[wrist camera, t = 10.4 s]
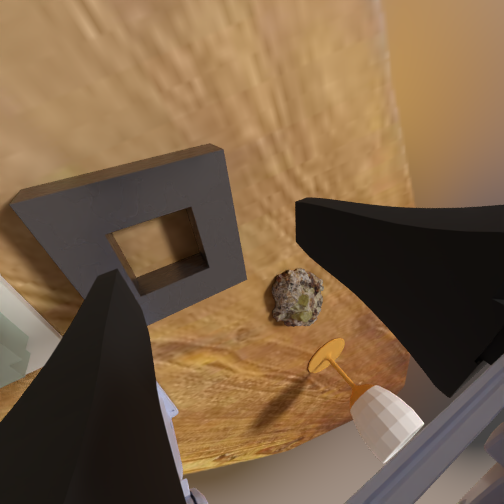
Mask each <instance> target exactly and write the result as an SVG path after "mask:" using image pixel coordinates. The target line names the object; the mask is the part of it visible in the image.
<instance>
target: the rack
mask: <svg viewBox="0 0 504 504" xmlns="http://www.w3.org/2000/svg"><path fill="white" fill-rule="evenodd" d="M61 339H62V336H61V335H60V334H59V333H58V332H57V331H56V330H55V329H54V328H53V327H52V326H51V325H50V324H49V323H48V322H47V321H46V320H45V319H44V318H43V317H42V316H41V315H40V314H39V313H38V312H37V311H36V310H35V309H34V308H33V307H32V306H31V305H30V304H29V303H28V302H27V301H26V300H25V299H24V298H23V297H22V296H21V295H20V294H19V293H18V292H17V291H16V290H15V289H14V288H13V287H12V286H11V285H10V284H9V283H8V282H7V281H6V280H5V279H4V278H3V277H2V276H1V275H0V388H1V387H4V386H6V385H8V384H10V383H12V382H14V381H17V380H19V379H21V378H23V377H25V375H26V374H28V373H30V372H33V371H35V370H37V369H39V368H41V367H43V366H44V365H45V364H46V362H47V361H48V359H49V358H50V356H51V355H52V353H53V352H54V350H55V348H56V347H57V345H58V344H59V342H60V341H61Z"/></svg>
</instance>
